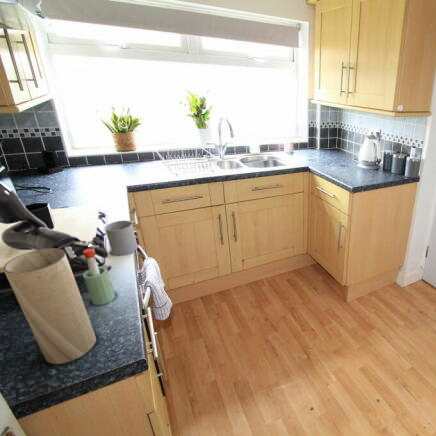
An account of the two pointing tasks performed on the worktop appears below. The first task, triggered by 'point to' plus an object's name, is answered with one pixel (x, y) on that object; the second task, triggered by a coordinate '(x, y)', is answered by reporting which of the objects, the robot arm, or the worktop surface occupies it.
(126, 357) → the worktop surface
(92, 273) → the marker
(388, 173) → the worktop surface
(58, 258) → the tube
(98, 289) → the green pencil holder
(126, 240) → the cup
